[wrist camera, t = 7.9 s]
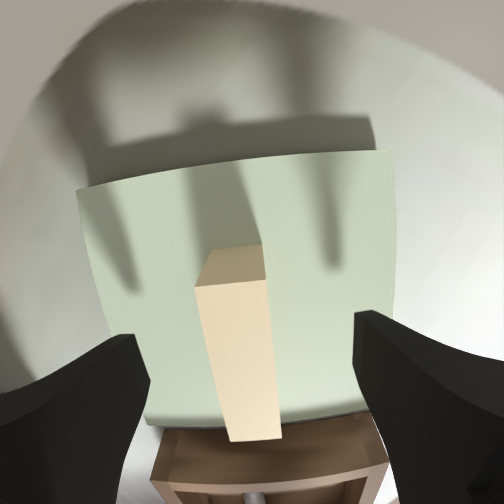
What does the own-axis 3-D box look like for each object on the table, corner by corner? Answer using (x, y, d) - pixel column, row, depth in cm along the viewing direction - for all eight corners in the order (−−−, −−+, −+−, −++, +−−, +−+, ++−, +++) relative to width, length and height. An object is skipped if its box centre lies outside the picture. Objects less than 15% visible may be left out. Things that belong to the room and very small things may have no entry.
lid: (155, 403, 15) (130, 474, 10) (96, 186, 12) (18, 203, 7) (369, 384, 15) (402, 454, 10) (374, 151, 12) (444, 146, 7)
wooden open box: (208, 509, 19) (204, 546, 15) (164, 428, 15) (149, 479, 12) (350, 497, 18) (358, 534, 14) (369, 410, 15) (389, 461, 11)
